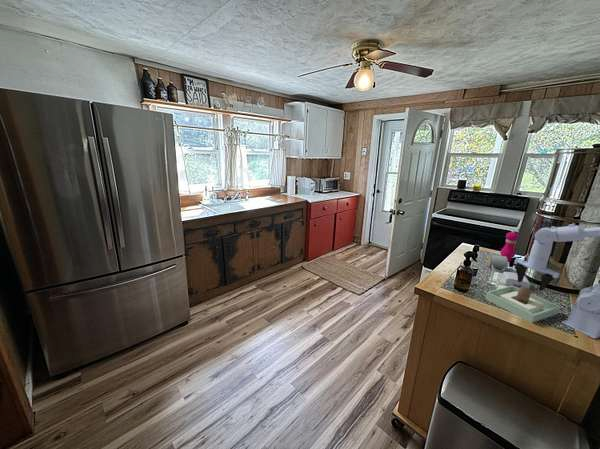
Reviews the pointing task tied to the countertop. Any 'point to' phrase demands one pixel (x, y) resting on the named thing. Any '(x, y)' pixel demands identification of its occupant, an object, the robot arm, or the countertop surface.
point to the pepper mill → (509, 245)
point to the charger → (514, 280)
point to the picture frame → (548, 309)
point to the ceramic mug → (498, 262)
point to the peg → (523, 295)
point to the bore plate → (531, 307)
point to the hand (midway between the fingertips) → (530, 285)
